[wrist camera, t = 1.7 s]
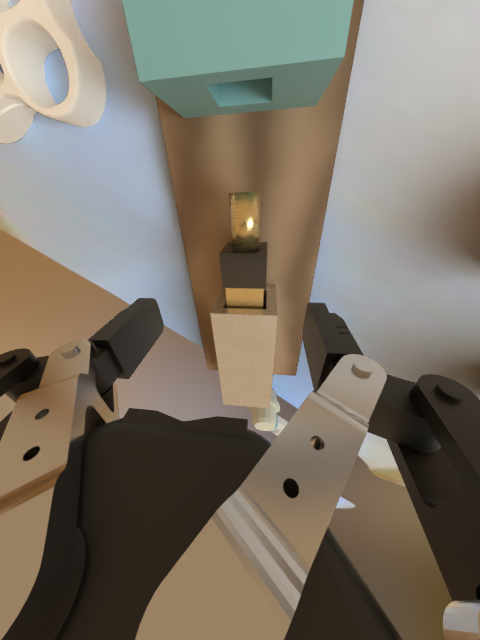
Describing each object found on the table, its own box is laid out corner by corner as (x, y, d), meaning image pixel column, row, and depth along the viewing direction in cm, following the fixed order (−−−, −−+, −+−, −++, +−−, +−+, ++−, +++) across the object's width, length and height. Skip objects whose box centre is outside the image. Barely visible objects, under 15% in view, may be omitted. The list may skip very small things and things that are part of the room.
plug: (269, 190, 16) (269, 191, 13) (262, 372, 28) (261, 395, 25) (224, 192, 16) (213, 194, 13) (236, 370, 29) (232, 393, 26)
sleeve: (275, 284, 22) (277, 315, 17) (269, 369, 30) (269, 408, 25) (223, 284, 23) (210, 313, 18) (231, 366, 31) (223, 404, 25)
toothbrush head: (313, 468, 43) (239, 430, 31) (306, 434, 48) (240, 391, 36) (337, 464, 40) (267, 422, 28) (327, 429, 45) (264, 381, 33)
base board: (369, -65, 11) (381, -95, 10) (294, 368, 31) (295, 375, 30) (142, -21, 13) (129, -43, 12) (209, 362, 33) (207, 369, 32)
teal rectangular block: (331, -18, 11) (386, -200, 6) (316, 105, 14) (344, 56, 9) (169, 9, 13) (95, -122, 7) (184, 118, 15) (139, 81, 10)
